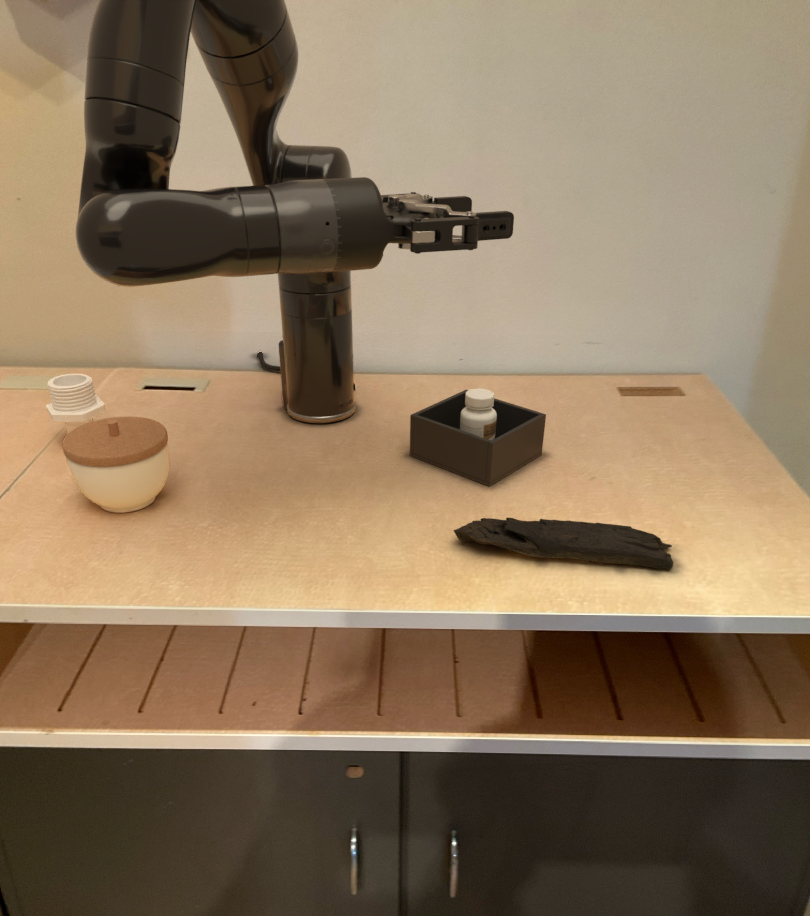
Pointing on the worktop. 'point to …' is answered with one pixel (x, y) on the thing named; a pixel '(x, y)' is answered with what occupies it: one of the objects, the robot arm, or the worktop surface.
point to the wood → (570, 540)
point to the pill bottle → (479, 414)
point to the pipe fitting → (73, 400)
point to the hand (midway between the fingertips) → (489, 216)
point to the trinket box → (119, 461)
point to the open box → (476, 440)
